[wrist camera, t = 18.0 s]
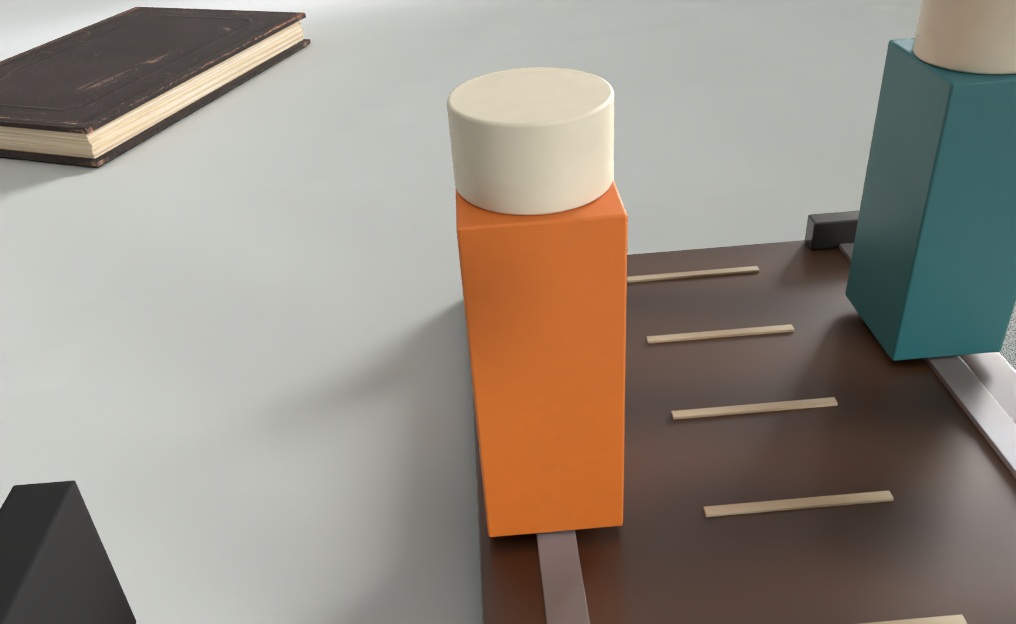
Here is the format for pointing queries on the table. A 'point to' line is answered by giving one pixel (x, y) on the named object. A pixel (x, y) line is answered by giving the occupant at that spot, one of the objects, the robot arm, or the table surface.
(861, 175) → the table surface
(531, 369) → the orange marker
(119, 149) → the hardcover book
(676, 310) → the board
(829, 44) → the table surface
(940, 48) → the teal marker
